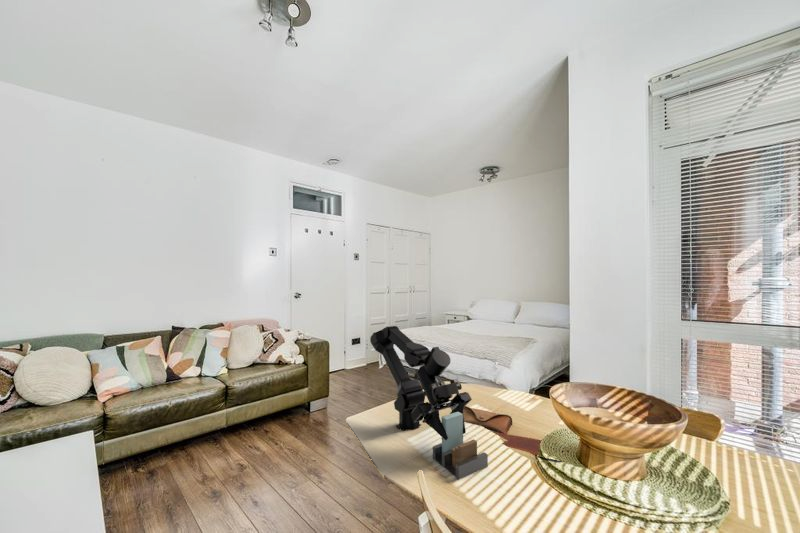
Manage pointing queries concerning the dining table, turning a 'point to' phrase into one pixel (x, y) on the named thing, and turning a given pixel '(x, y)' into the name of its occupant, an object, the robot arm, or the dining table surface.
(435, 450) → the rack
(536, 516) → the dining table surface
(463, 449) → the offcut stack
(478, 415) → the sunglasses case
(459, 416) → the tall sheet
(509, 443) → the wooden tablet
